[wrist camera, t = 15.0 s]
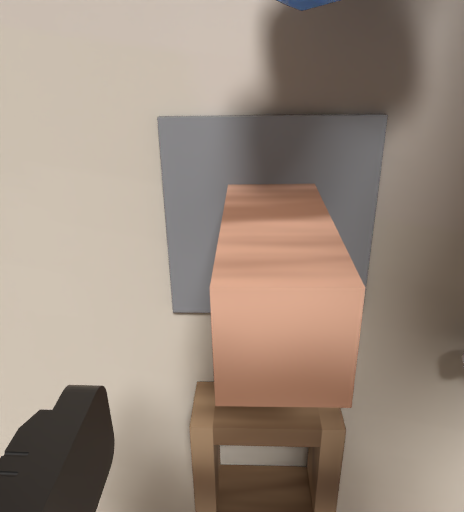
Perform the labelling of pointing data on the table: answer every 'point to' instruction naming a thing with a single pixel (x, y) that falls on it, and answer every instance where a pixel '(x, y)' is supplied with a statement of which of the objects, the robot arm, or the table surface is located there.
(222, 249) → the terracotta block
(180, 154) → the mat
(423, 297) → the table surface
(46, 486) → the robot arm
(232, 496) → the holder
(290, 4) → the blue knobby rounded piece
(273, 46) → the table surface
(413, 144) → the table surface
